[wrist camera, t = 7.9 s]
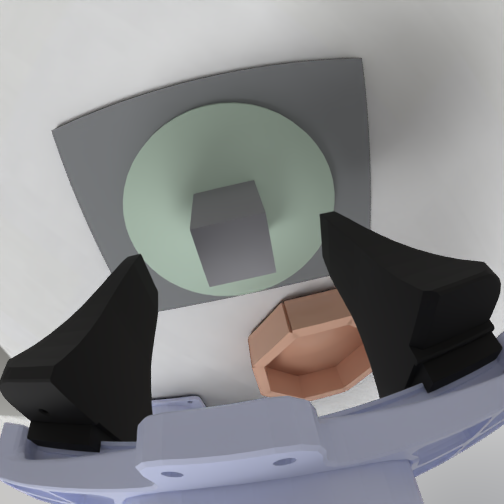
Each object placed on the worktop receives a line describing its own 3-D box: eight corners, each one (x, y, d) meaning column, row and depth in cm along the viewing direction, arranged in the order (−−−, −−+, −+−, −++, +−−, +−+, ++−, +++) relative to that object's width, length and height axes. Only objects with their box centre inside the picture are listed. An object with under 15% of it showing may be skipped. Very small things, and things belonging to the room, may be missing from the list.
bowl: (261, 382, 27) (266, 410, 24) (239, 307, 21) (243, 341, 19) (366, 356, 27) (377, 381, 24) (377, 275, 21) (395, 303, 19)
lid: (165, 302, 20) (159, 355, 16) (98, 138, 13) (63, 165, 10) (333, 265, 20) (358, 312, 16) (318, 85, 13) (355, 95, 10)
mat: (135, 310, 20) (134, 315, 20) (55, 128, 13) (51, 130, 13) (365, 261, 20) (368, 266, 20) (357, 58, 13) (361, 58, 13)
